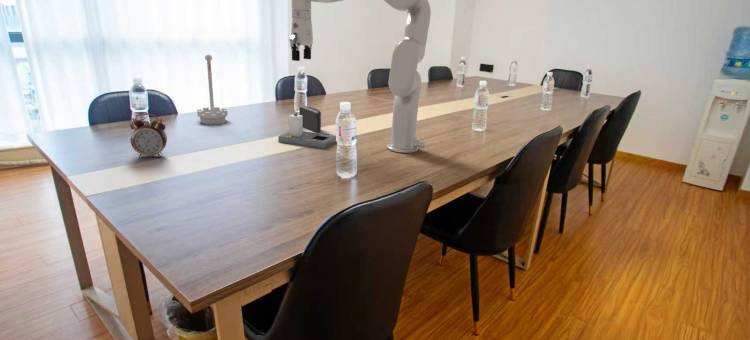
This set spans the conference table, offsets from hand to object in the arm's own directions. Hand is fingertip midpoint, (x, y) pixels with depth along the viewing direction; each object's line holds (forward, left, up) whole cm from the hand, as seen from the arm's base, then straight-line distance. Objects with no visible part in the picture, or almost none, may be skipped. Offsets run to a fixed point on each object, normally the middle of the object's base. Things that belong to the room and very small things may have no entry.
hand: (301, 59), depth 175 cm
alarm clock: (+30, +52, -31) cm, 68 cm away
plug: (-2, +10, -31) cm, 33 cm away
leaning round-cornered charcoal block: (+1, -9, -32) cm, 33 cm away
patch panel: (-8, +10, -31) cm, 34 cm away
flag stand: (+46, 0, -32) cm, 56 cm away
